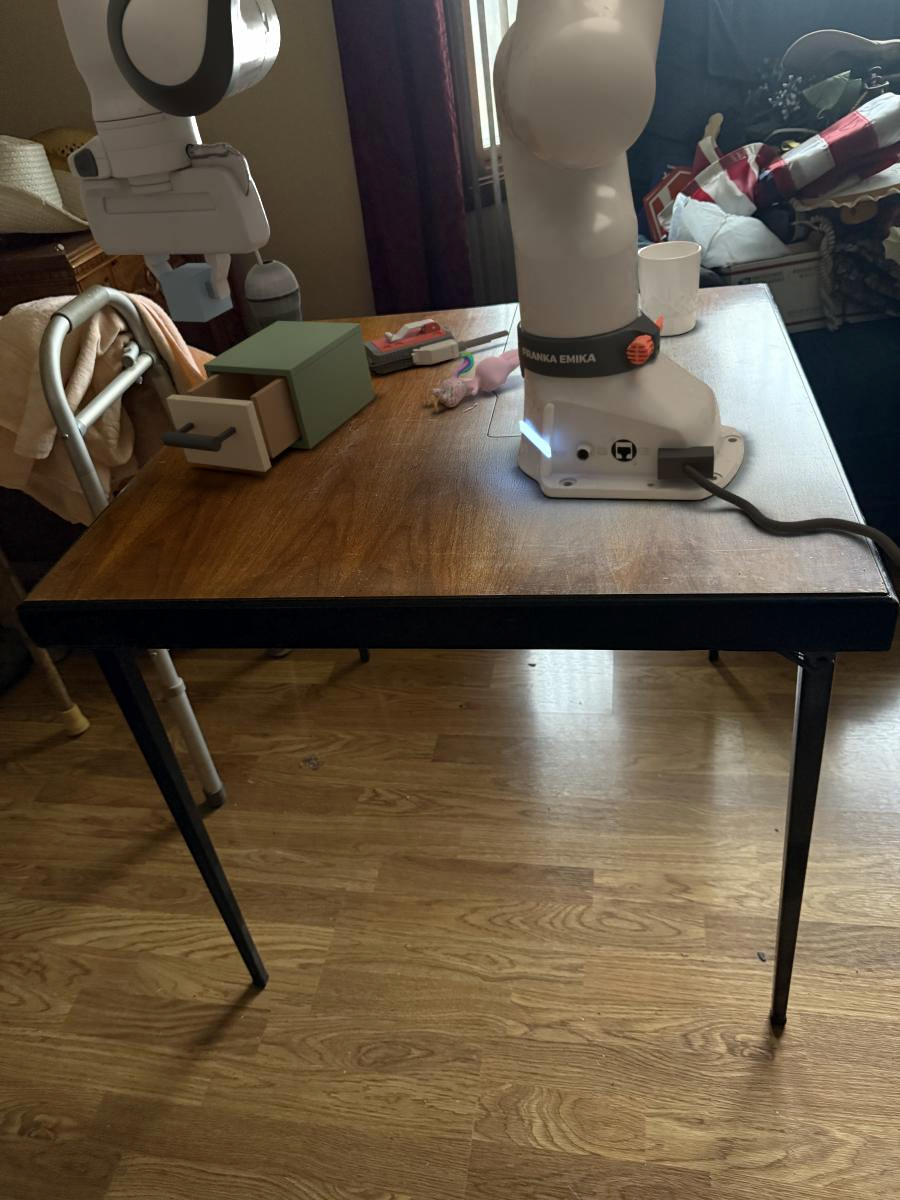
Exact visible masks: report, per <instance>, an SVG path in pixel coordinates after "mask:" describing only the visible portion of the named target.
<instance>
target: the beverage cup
mask: <svg viewBox="0 0 900 1200" xmlns="http://www.w3.org/2000/svg"><path fill="white" fill-rule="evenodd" d="M253 252H254V255H255V257H256V261H257V263H255V264H253V266H252V267H251V268H250V269H249V271H248V272H247V274H246V277H245V281H244V291H245V292H244V293H245V301H246V302H247V303H248V307H249V308H250V311H251V313H252V314H253V316H254V319H255V321H256V323H257V326H258V330H259V332H260V331H261V330H263V329H265V328H266V327H268V326H270V325H272V324H273V323H275V322H277V321H297V322H303V316H302V309H301V304H302V303H301V292H300V290H301V287H300V285H299V283H298V280H297V278H296V276H295V274H294V273H293V271H292V270H291V269H290V268H289V267H288V266H287V265H286V264H284V263H283V262H280V261H278V260H275V259H264V260H262V257H261V255H260V252H259V249H257V250H255V251H253Z"/></svg>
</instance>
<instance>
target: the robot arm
mask: <svg viewBox="0 0 900 1200" xmlns="http://www.w3.org/2000/svg"><path fill="white" fill-rule="evenodd" d="M56 2H57V6H58V11H59V14H60V18H61V23H62V26H63V29H64V32H65V36H66V40H67V42H68V46H69V49H70V52H71V55H72V57H73V61H74V64H75V67H76V69H77V70H78V72H79V73H80V75H81V77H82V78H83V80H84V83H85V84H86V87H87V90H88V93H89V96H90V100H91V114H92V120H93V122H94V125H95V128H96V131H97V135H95V136H93V137H92V138H91V139H89V140H88V142H86V143H84V144H83V145H82V146H80V147H79V148H77V149H76V150H75V151H73V152H71V153H70V154H69V155H68V157H67V164H68V165H67V166H68V168H69V170H70V173H71V175H72V176H73V178H75V179H76V180H80V181H81V182H80V184H79V190H78V191H79V197H80V202H81V206H82V209H83V211H84V215H85V218H86V220H87V223H88V226H89V229H90V232H91V235H92V237H93V239H94V241H95V243H96V244H97V246H98V247H99V249H101V250H102V252H103V253H105V254H106V255H108V256H124V255H125V256H126V255H128V256H129V255H131V256H134V255H135V256H136V255H138V256H139V255H142V256H143V259H144V263H145V266H146V267H147V269H149V270H150V272H151V273H152V274H153V276H154V277H155V278H156V279H157V280H158V282H160V280H159V276H161V275H163V274H165V273H167V272H170V271H172V270H174V269H173V267H172V266H171V265H170V263H169V262H168V260H170V255H203V258H204V260H205V263H206V264H207V265H212V266H211V277H210V280H209V281H207V282H205V286H206V289H207V291H208V296H209V298H210V299H224V298H226V297H228V296H229V295H230V296H231V289H230V285H229V281H228V276H229V270H230V265H231V261H232V257H231V254H233V255H235V254H236V255H237V254H238V255H239V254H240V255H241V254H249V253H252V252H254V251H255V250H257V249H258V250H259V249H261V248H264V246H266V245H267V244H268V241H269V238H270V235H271V231H270V230H271V229H270V225H269V221H268V219H267V215H266V211H265V209H264V206H263V203H262V200H261V197H260V195H259V192H258V189H257V187H256V184H255V182H254V180H253V177H252V175H251V172H250V169H249V168H250V167H249V164H248V161H247V159H246V157H245V155H243V154H242V153H241V151H239V150H238V149H236V148H235V147H232V145H231V144H230V143H229V142H225V141H219V142H215V143H211V144H210V143H203V142H202V139H201V135H200V132H199V127H198V124H197V121H196V120H197V119H196V117H198V116H200V115H204V114H206V113H208V112H209V111H211V110H213V109H214V108H215V107H216V106H217V105H219V104H220V103H222V102H223V101H225V100H226V99H229V98H231V97H234V96H237V95H238V94H240V93H242V92H243V91H246V90H248V89H250V88H252V87H254V86H255V85H257V84H258V83H260V82H261V81H262V80H263V79H264V78H265V77H266V76H268V74H269V73H270V72H271V71H272V69H273V67H274V66H275V64H276V63H277V60H278V56H279V53H280V49H281V42H282V40H281V39H282V29H281V23H280V16H279V13H278V10H277V8H276V5H275V3H274V0H56ZM665 2H666V0H517V3H516V12H515V20H514V21H513V22H512V24H510V26H509V27H508V29H507V31H506V32H505V34H504V35H503V37H502V39H501V41H500V43H499V45H498V47H497V51H496V53H495V57H494V62H493V69H492V87H493V89H492V90H493V96H494V106H495V107H494V108H495V115H496V122H497V123H496V124H497V130H498V139H499V148H500V154H501V162H502V171H503V178H504V179H503V180H504V185H505V192H506V193H505V194H506V199H507V206H508V214H509V220H510V221H509V222H510V229H511V236H512V244H513V254H514V265H515V276H516V287H517V296H518V297H517V299H518V306H519V307H518V308H519V318H520V320H519V321H518V323H517V326H516V333H517V334H516V335H517V336H516V337H517V349H518V356H519V362H520V366H519V369H520V374H521V377H522V379H523V386H524V387H523V391H524V392H523V394H524V396H523V397H524V398H523V418H522V420H519V430H520V431H521V436H520V444H519V448H518V451H517V452H518V453H517V456H516V460H517V464H518V466H519V468H520V469H521V471H523V472H524V473H525V474H526V475H528V476H529V477H531V478H532V479H534V480H535V481H536V482H537V483H538V484H539V487H540V489H541V491H542V493H543V494H544V495H546V496H547V497H551V498H573V499H574V498H579V499H580V498H581V499H583V498H584V499H590V498H591V499H633V500H683V501H688V500H689V501H693V500H696V501H697V500H703V499H705V498H708V497H710V496H712V495H713V496H714V497H717V498H719V499H720V500H723V501H725V502H727V503H730V504H731V505H734V506H735V507H738V508H739V509H741V510H742V511H743V512H744V513H746V514H747V515H748V516H749V518H751V519H752V521H754V523H755V524H757V525H758V526H760V527H762V528H763V529H766V530H769V531H771V532H772V531H773V532H776V533H777V532H778V533H801V532H807V531H814V530H823V529H824V530H825V529H826V530H827V529H829V530H838V531H843V532H847V533H852V534H855V535H859V536H863V537H865V538H867V539H869V540H872V541H874V543H876V544H877V545H878V546H880V547H881V548H882V550H883V551H884V552H885V553H886V554H887V556H888V557H889V558H890V559H891V561H892V563H894V565H895V567H896V568H897V570H898V572H900V547H898V545H897V543H895V542H894V541H893V540H892V539H891V538H890V537H889V536H888V535H887V534H885V533H883V532H882V531H880V530H878V528H875V527H872V526H871V525H870V526H869V525H867V524H865V523H864V524H863V523H861V522H855V521H852V520H847V519H843V518H839V517H838V518H837V517H818V518H811V519H804V520H796V521H781V520H777V519H776V520H775V519H772V518H769V517H767V516H765V515H764V514H763V513H762V512H761V511H760V509H758V508H757V506H755V505H754V504H753V503H751V502H750V501H749V500H746V499H745V498H744V497H742V496H740V495H737V494H735V493H733V492H731V491H729V490H727V489H725V487H726V486H727V485H728V484H729V483H730V482H731V481H732V480H733V478H735V475H736V474H737V473H738V471H739V469H740V467H741V464H742V463H743V460H744V455H745V444H744V437H743V435H742V434H741V432H740V431H739V430H738V428H736V427H734V426H729V425H724V424H722V421H721V414H720V413H721V412H720V408H719V402H718V400H717V399H718V398H717V396H716V393H715V392H714V390H713V389H712V387H711V386H710V385H709V384H708V383H706V382H704V381H703V380H702V379H700V378H699V377H697V376H696V375H695V374H693V373H692V372H691V371H689V370H687V369H686V368H684V367H683V366H681V365H680V364H678V363H677V362H676V361H675V360H673V359H672V358H671V357H669V356H668V355H666V354H665V353H664V352H662V351H661V336H660V332H661V331H662V330H663V325H662V324H663V316H660V318H659V319H658V320H657V321H656V322H655V323H654V322H653V321H652V320H651V319H650V318H648V317H647V316H646V315H645V314H644V313H643V312H642V310H641V307H640V297H639V296H640V287H639V268H638V251H639V224H638V218H637V213H636V210H635V205H634V199H633V193H632V186H631V178H630V173H629V165H628V155H627V151H628V150H629V149H630V147H632V146H633V145H634V144H635V142H637V140H638V139H639V137H640V136H641V134H642V133H643V131H644V130H645V128H646V126H647V124H648V122H649V120H650V117H651V114H652V111H653V108H654V104H655V99H656V89H657V81H656V79H657V78H656V76H657V75H656V66H657V58H658V53H659V52H658V51H659V46H660V39H661V31H662V25H663V17H664V11H665V10H664V9H665Z"/></svg>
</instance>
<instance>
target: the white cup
mask: <svg viewBox="0 0 900 1200" xmlns="http://www.w3.org/2000/svg"><path fill="white" fill-rule="evenodd" d="M702 248H703V247H702V245H700V244H699V243H696V242H694V241H687V240H686V241H685V240H675V241H661V242H658V243H653V244H650V245H647V246H644V247H643V248H642V247H641V249H638V276H639V296H640V297H639V299H640V309H641V310H642V312H643V313H644V314H645V315H646V316H647V317H648V318H650V319H651V320H652V321H653V322H654V323H655V322H656V321H657V320H658V319H659V318H660V316H663V324H662V325H663V330H662V331H661V332H660V337H667V336H677V335H681V334H685V333H688V332H690V331H691V330H693V329H694V328H695V326H696V321H697V320H696V319H697V306H698V301H699V289H700V278H701V277H700V276H701V262H702Z"/></svg>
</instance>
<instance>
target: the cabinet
mask: <svg viewBox="0 0 900 1200" xmlns="http://www.w3.org/2000/svg"><path fill="white" fill-rule="evenodd" d="M364 343H365V341H364V337H363V331H362V325H361V323H357V322H330V321H329V322H326V321H302V322H297V321H277V322H275V323H273V324H272V325H270V326H268V327H266V328H265V329H263V330H261V331H260V330H259V331H258V332H256V333H254V334H253V335H251V336H249V337H248V338H246V339H244V340H243V341H241V342H239V343H238V344H236V345H234V346H233V347H230V348H229V349H227V350H225V351H224V352H222V353H220V354H219V355H217V356H215V357H214V358H212V359H211V360H209V361H207V362H205V363H203V367H204V368H203V369H204V371H205V375H206V377H207V378H206V379H208V378H209V377H211V376H213V375H214V374H216V373H218V372H230V373H245V374H260V375H275V376H287V381H288V385H289V389H290V393H291V397H292V401H293V405H294V408H295V412H296V416H297V420H298V424H299V428H300V432H301V436H302V437H300V438H299V439H298V440H296V441H295V442H294V443H292V444H291V445H290V446H289V447H288V448H293V449H294V448H295V449H304V450H311V449H313V448H314V447H315V446H316V445H317V444H319V443H320V442H322V441H323V440H324V439H325V438H326V437H328V436H329V435H330V434H331V433H333V432H334V431H335V430H337V429H338V428H339V427H340V426H341V425H343V424H344V423H345V422H346V421H348V420H349V419H351V417H353V416H354V415H355V414H356V413H358V412H360V410H362V409H363V408H365V406H367V405H368V404H369V403H370V402H372V401H373V400H374V399H375V398H376V397H375V392H374V386H373V382H372V381H373V380H372V377H371V371H370V370H369V366H368V361H367V356H366V351H365V346H364Z"/></svg>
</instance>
